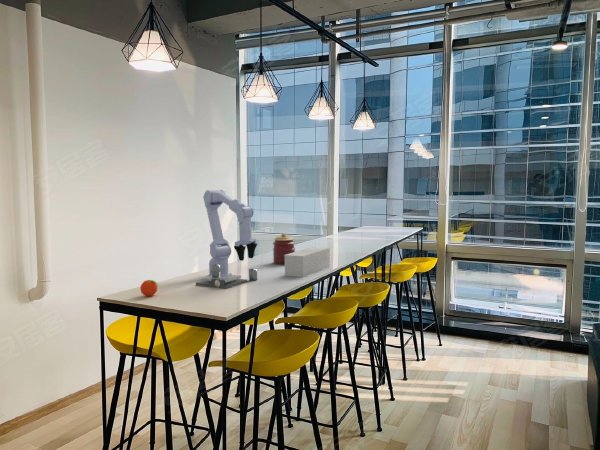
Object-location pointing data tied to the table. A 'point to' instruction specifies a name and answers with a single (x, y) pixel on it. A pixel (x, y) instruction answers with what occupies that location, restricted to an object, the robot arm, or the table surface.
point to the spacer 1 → (216, 270)
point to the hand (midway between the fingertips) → (246, 259)
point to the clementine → (148, 287)
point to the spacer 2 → (252, 274)
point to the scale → (221, 283)
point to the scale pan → (222, 277)
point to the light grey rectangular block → (306, 261)
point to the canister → (282, 248)
